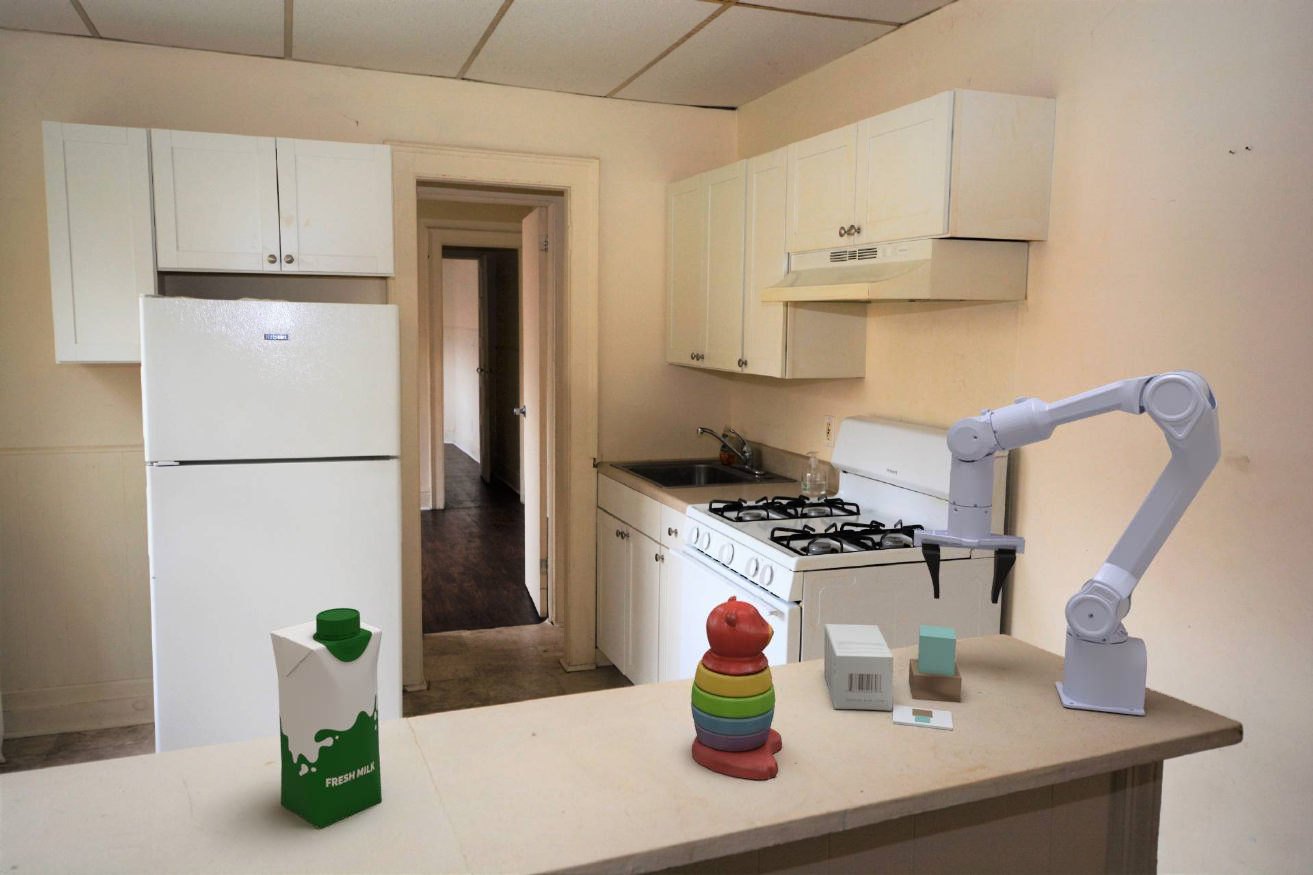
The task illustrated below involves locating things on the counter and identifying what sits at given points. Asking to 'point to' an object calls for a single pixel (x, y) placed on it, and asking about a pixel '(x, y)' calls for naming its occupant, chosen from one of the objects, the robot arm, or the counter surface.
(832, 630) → the supplement box
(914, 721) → the page
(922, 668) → the teal block
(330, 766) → the milk carton
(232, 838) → the counter surface
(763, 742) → the stacking bear
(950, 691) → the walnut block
